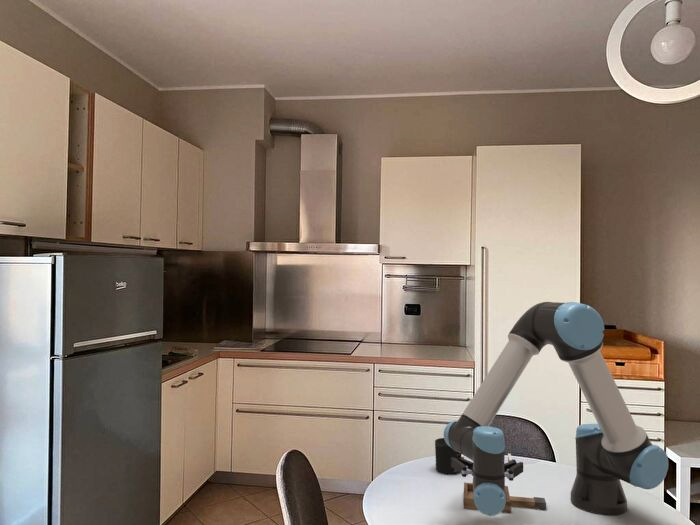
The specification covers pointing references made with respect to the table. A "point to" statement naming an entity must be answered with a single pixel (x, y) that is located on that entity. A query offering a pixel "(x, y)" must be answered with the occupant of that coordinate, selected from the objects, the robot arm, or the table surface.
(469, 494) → the wooden tray with handle
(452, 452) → the pen holder
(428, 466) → the table surface
